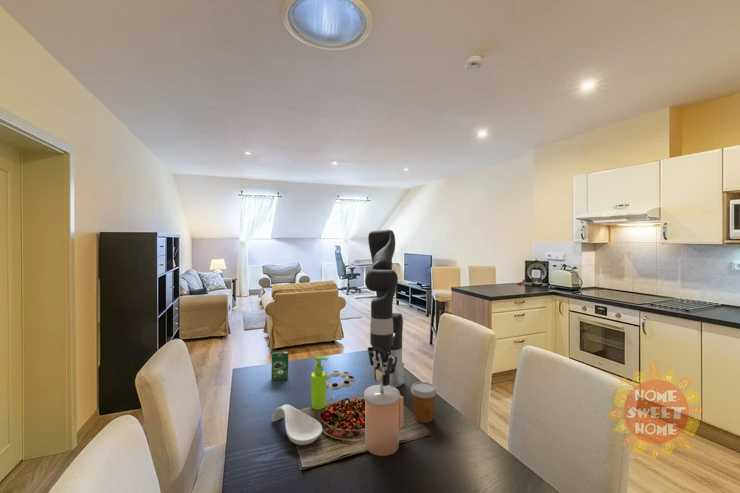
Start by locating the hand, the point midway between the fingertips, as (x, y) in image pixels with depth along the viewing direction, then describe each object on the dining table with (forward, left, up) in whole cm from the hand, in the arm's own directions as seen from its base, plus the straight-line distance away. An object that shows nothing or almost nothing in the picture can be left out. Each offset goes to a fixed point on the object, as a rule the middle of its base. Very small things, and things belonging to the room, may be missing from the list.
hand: (381, 382), depth 103 cm
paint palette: (-9, -52, -21) cm, 57 cm away
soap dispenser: (+7, -34, -21) cm, 40 cm away
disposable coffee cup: (-22, -4, -21) cm, 30 cm away
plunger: (0, 0, -3) cm, 3 cm away
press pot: (-1, 0, -21) cm, 21 cm away
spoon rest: (+22, -23, -21) cm, 38 cm away
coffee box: (+13, -68, -21) cm, 72 cm away
